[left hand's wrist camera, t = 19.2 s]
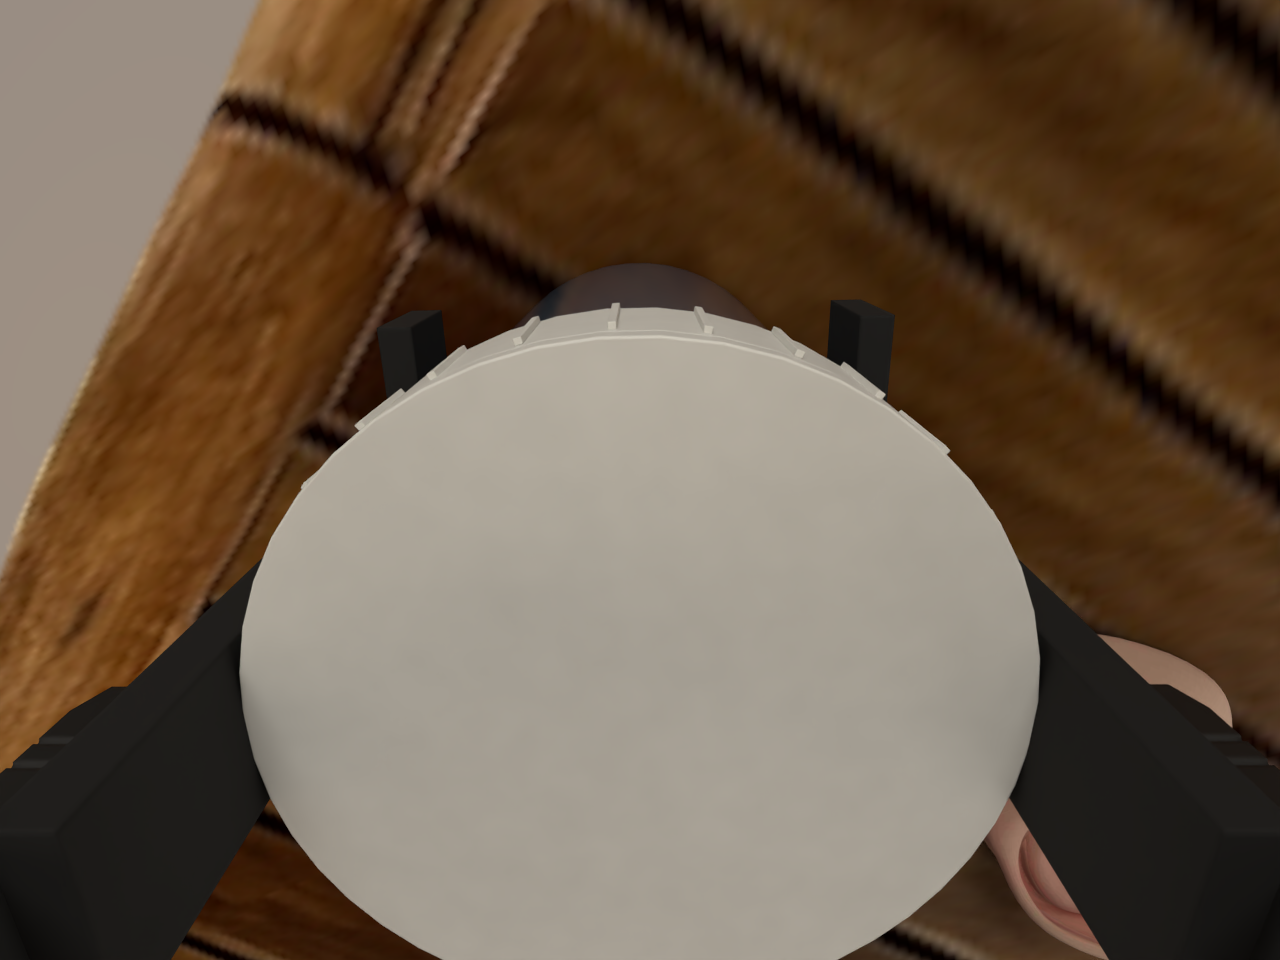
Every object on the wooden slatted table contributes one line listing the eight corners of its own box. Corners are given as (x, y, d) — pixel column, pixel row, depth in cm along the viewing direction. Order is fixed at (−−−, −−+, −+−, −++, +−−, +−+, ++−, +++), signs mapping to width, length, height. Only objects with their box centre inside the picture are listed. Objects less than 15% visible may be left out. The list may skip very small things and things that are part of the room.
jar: (649, 193, 23) (666, 184, 8) (844, 422, 26) (1115, 716, 11) (432, 405, 25) (155, 682, 11) (631, 595, 28) (623, 1026, 13)
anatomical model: (1040, 691, 24) (1386, 708, 25) (987, 626, 28) (1288, 641, 28) (956, 978, 29) (1248, 990, 29) (920, 889, 33) (1180, 900, 33)
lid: (524, 955, 15) (504, 1084, 13) (164, 506, 12) (54, 578, 9) (1056, 752, 13) (1138, 861, 11) (815, 153, 10) (866, 139, 8)
